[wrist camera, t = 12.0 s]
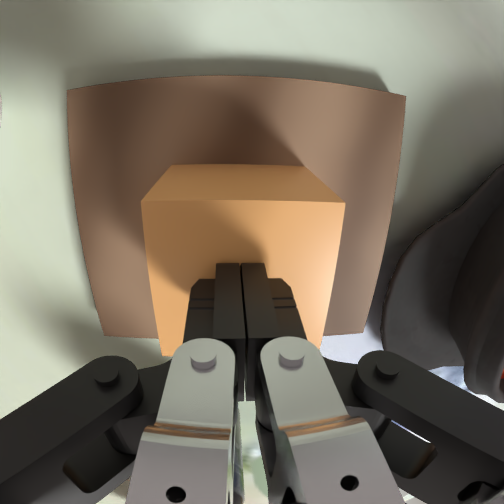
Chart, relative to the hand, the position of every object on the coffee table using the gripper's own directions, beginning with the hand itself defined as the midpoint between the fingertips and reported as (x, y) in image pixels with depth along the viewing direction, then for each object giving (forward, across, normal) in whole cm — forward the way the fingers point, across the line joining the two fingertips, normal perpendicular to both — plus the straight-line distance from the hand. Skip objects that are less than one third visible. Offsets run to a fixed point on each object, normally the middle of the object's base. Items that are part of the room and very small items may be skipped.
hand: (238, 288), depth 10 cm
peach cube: (+6, 0, 0) cm, 6 cm away
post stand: (+7, 0, 0) cm, 7 cm away
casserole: (+7, -21, +3) cm, 23 cm away
